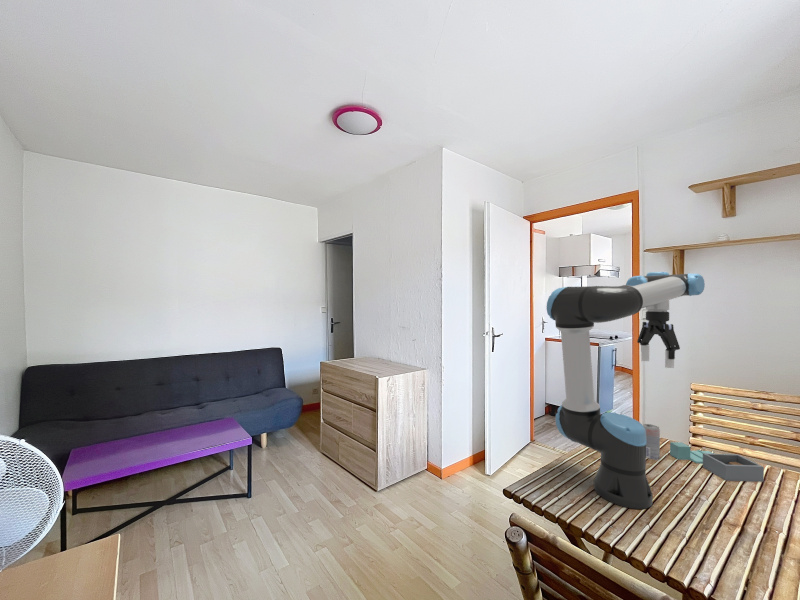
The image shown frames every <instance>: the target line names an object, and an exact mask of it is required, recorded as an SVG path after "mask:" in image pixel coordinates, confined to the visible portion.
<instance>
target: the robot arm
mask: <svg viewBox="0 0 800 600" xmlns="http://www.w3.org/2000/svg"><path fill="white" fill-rule="evenodd" d="M705 288H706V287H705V279H704V276H703V275H702V274H699V273H690V272H688V273H683V274H682V273H681V274H679V273H678V274H670V273H669V272H668V271H652V272H651V271H649V272H647V273H646V274H645V275H633V276H631V277H630V278H628V280H627V281H626V283H625V284H623V285H618V286H617V285H615V286H614V285H613V286H607V285H604V286H603V285H591V286H564V287H558V288H556V289H554V290H552V292H551V294H550V295H549V296H548V299H547V301H546V313H547V315H548V316H549V318H550V319H551V320H552V321H555V328H556V329H557V330H558V331H559V332H560V337H561V348H562V349H561V350H562V361H563V362H562V363H563V373H564V386H565V387H564V388H565V390H564V391H565V399H564V400H562V402H561V405H560V406H559V407H558V408H557V413H555V426H556V428H557V430H558V432H559V433H560V435H561V436H563V437H564V438H567V439H569V440H570V441H571V442H574V443H577V444H580V445H582V446H584V447H586V448H588V449H591V450H594V451H595V452H599V453H600V464H599V467H598V469H597V471H596V475H595V477H594V479H593V489H594V491H595V492H596V493H597V494H598V495H599V496H600V497H602V498H603V499H604V500H606V501H608V502H610V503H612V504H614V505H618V506H621V507H623V508H629V509H634V510H635V509H636V510H642V509H648V508H651V507H652V505H653V501H654V499H653V497H654V496H653V492H652V489H651V487H650V484H649V481H648V477H647V475H646V474H647V473H646V468H647V466H646V464H647V463H646V462H647V458H646V443H647V440H646V431H645V428H644V427H643V424H642V423H641V422H640V421H639V420H636V419H635V418H632V417H631V416H628V415H625V414H622V413H620V414H619V413H617V412H612V411H611V412H610V411H609V412H608V411H607V412H604V413H602V414H601V405H600V403H598V402H597V401H596V400H595V393H594V380H593V378H594V377H593V365H592V364H593V363H592V352H591V351H592V350H591V340H590V339H591V335H590V331H591V329H593V328H594V326H595V324H596V323H597V324H601V323H608V322H611V321H617V320H620V319H624V318H628V317H630V316H633V315H636V314H638V313H639V312H640V311H641V310H642V309H645V310H646V312H645V320H646V321H643V322H642V324H641V325H642V326H641V330H640V331H639V335H638V339H637V341H636V342H637V343H638V344H639V345H640V352H641V354H640V355H641V356H640V357H641V362H650V344H649V343H650V342H651V340H652V339H653V338H654V336H655V335H658V336H659V337H660V340H662V342H663V345H664V347H665V352H664V355H665V358H664V363H665V364H664V368H666V369H667V368H668V369H669V368H670V369H674V368H675V359H676V357H675V356H676V351H677V350H681V349H680V348H681V347H680V344H679V341H678V338H677V335H676V332H675V330H674V329H675V327H674V324H673V323H667V322H669V321H670V312H669V310H670V300H674V299H678V298H679V297H685V296H689V297H691V296H700V295H702V294H703V292H704V290H705Z"/></svg>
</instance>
